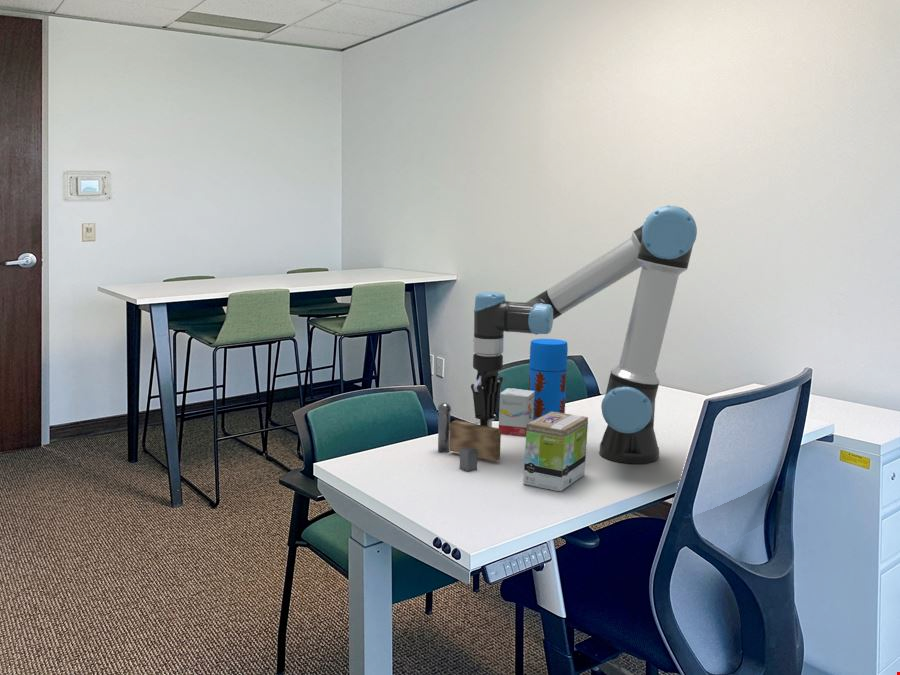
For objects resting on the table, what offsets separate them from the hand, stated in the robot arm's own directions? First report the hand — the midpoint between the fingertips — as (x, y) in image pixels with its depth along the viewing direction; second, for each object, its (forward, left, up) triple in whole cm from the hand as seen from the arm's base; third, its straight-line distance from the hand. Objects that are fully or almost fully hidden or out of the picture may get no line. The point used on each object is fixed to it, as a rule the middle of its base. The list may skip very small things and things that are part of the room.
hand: (485, 443), depth 210 cm
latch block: (-6, +11, -3) cm, 13 cm away
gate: (0, +4, -2) cm, 4 cm away
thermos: (+12, -35, -3) cm, 37 cm away
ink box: (+12, -22, -3) cm, 26 cm away
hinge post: (+9, +7, -3) cm, 11 cm away
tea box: (-24, 0, -3) cm, 24 cm away
